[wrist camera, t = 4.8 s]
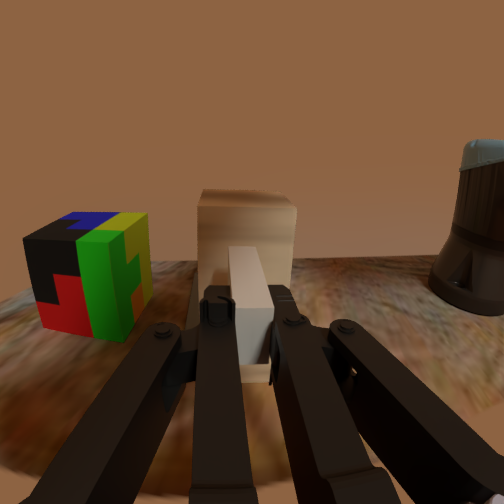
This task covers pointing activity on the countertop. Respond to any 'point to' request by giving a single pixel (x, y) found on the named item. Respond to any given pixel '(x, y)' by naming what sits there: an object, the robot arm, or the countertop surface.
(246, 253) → the robot arm
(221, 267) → the beech block
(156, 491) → the countertop surface
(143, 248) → the puzzle toy
